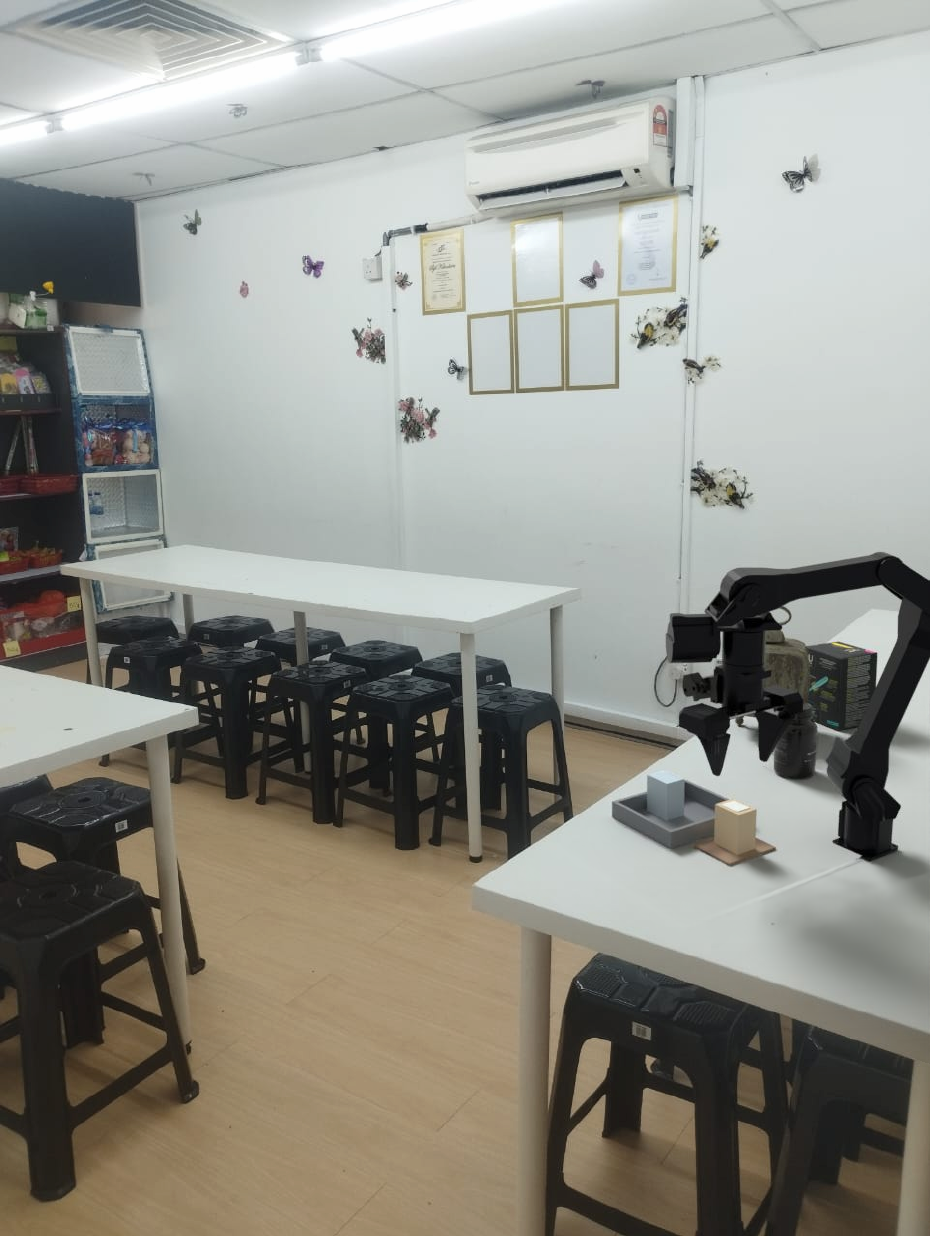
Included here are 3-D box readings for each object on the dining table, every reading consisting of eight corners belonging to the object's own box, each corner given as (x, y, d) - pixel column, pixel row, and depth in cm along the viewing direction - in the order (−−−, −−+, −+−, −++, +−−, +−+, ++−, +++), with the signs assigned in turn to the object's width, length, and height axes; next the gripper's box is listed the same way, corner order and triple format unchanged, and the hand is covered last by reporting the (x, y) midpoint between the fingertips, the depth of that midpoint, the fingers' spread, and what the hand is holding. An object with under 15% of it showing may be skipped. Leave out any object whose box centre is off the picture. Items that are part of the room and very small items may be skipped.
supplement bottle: (818, 781, 162) (821, 712, 160) (775, 779, 164) (778, 711, 161) (812, 765, 169) (815, 700, 166) (771, 764, 170) (774, 698, 168)
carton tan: (755, 848, 137) (756, 808, 136) (737, 855, 136) (738, 814, 134) (731, 837, 141) (733, 797, 140) (714, 843, 140) (715, 803, 138)
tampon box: (875, 724, 189) (880, 651, 185) (837, 732, 185) (841, 658, 182) (835, 709, 198) (838, 639, 195) (798, 715, 195) (801, 645, 192)
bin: (746, 825, 146) (747, 807, 146) (670, 851, 139) (670, 832, 138) (685, 797, 158) (686, 779, 157) (612, 819, 150) (612, 801, 150)
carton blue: (683, 815, 150) (684, 778, 148) (666, 820, 148) (667, 783, 147) (663, 805, 154) (664, 769, 152) (646, 810, 152) (647, 774, 150)
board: (775, 852, 138) (775, 847, 138) (729, 869, 133) (729, 863, 133) (738, 834, 144) (738, 829, 144) (693, 849, 139) (693, 844, 139)
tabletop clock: (806, 726, 189) (812, 601, 183) (807, 742, 180) (814, 611, 175) (729, 721, 193) (733, 598, 187) (727, 736, 185) (731, 608, 179)
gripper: (747, 639, 144) (744, 738, 148) (651, 659, 135) (650, 765, 139) (808, 654, 135) (803, 760, 138) (709, 677, 126) (707, 790, 129)
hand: (740, 768), depth 136 cm, fingers open, 9 cm apart
